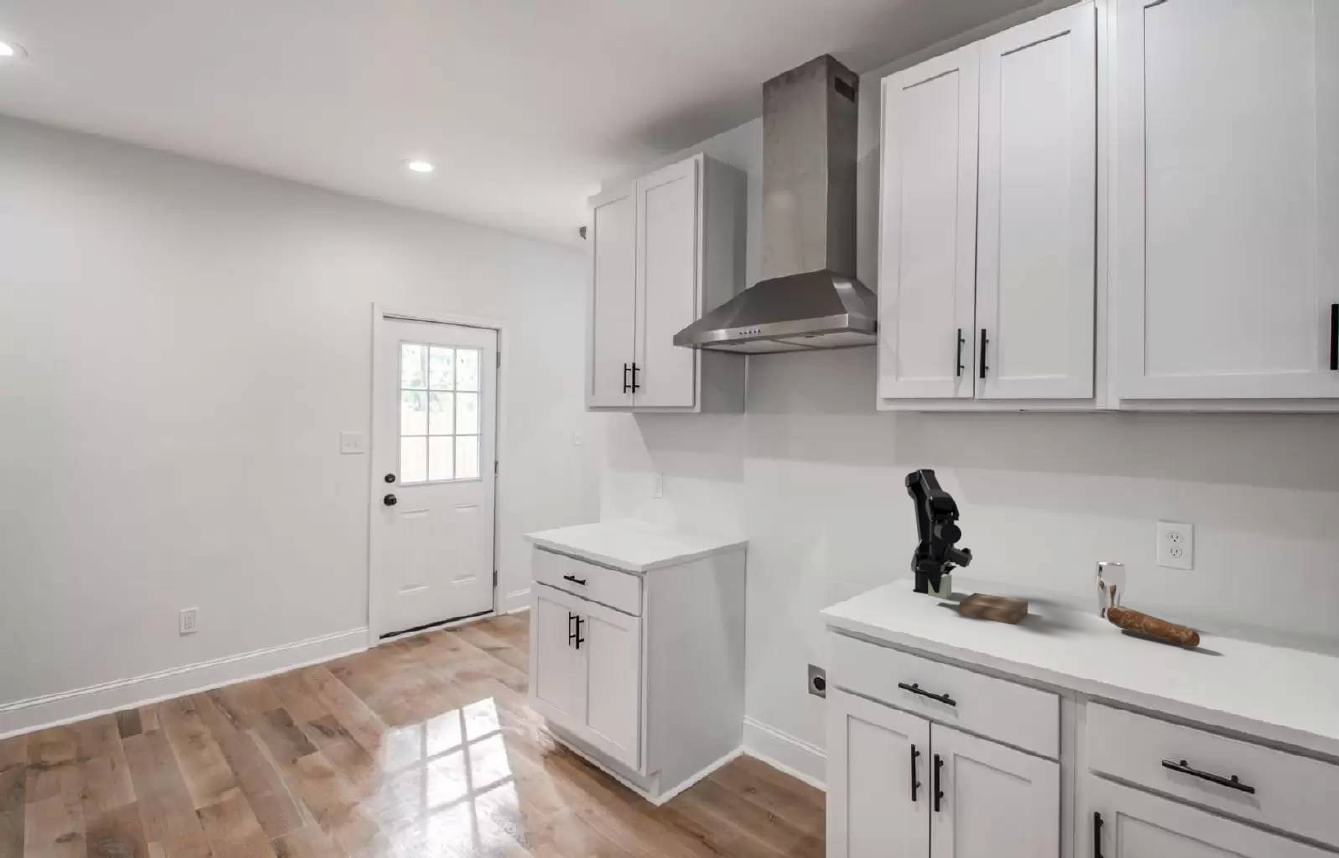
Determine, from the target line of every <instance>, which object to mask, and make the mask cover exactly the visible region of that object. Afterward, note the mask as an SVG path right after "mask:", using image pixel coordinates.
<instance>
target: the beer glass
mask: <svg viewBox="0 0 1339 858" xmlns="http://www.w3.org/2000/svg"><path fill="white" fill-rule="evenodd" d="M1125 566H1126V565H1125V564H1123V563H1119V562H1114V561H1113V562H1112V561H1096V562H1095V570H1094V572H1095V573H1094V583H1095V591H1096V594H1097V600H1098V603H1097V604H1098V608H1097V612H1096V616H1097V617H1098V618H1099V619H1104V620H1108V618H1107V610H1108V608H1110V606H1111V605H1112V604H1116V605H1120V606H1123V602H1124V601H1123V600H1124V596H1125V591H1126V585H1127V582H1126V581H1127V579H1126V578H1127V577H1126V575H1127V574H1126V569H1125ZM1108 621H1109V620H1108Z"/></svg>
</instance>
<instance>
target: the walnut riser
mask: <svg viewBox="0 0 1339 858" xmlns="http://www.w3.org/2000/svg"><path fill="white" fill-rule="evenodd" d="M1028 614H1029V601H1028V600H1025V599H1018V598H1017V599H1016V598H1011V597H1003V596H997V595H992V594H986V593H985V594H984V593H978V592H974V593H972V594H970V595H968V596H966V597H965V598H963V599H962V600H960V601H959V616H966V617H971V618H972V617H973V618H977V619H982V620H988V621H993V622H999V623H1005V624H1009V625H1017V624H1018V623H1019V622H1020V621H1021V620H1023V619H1024V618H1025V617H1026V616H1027V615H1028Z"/></svg>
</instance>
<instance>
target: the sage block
mask: <svg viewBox="0 0 1339 858" xmlns="http://www.w3.org/2000/svg"><path fill="white" fill-rule="evenodd" d="M927 595H928V597H933V598H940V599H947V598H950V597H952V574H949V575H948V574H943V575H942V578H941V584H940V590H939V593H935V592H934V590H933V588H932V586H931V583H930V581H929V579H928V594H927Z"/></svg>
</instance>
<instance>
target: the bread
mask: <svg viewBox="0 0 1339 858" xmlns="http://www.w3.org/2000/svg"><path fill="white" fill-rule="evenodd" d="M1107 618H1108V622H1109V623H1110V624H1112V625H1114V626H1116V627H1118V628H1120V629H1123V630H1127V631H1131V632H1134V633H1138V634H1142V635H1146V636H1149V637H1153V638H1157V639H1160V640H1165V641H1168V642H1173V643H1177V644H1181V645H1185V646H1189V647H1197V646H1199V645H1200V641H1201V637H1200V635H1199V633H1198V632H1197V631H1194V630H1192V629H1189V628H1186V627H1183V626H1181V625H1178V624H1175V623H1173V622H1169V621H1167V620H1163V619H1161V618H1158V617H1154V616H1152V615H1149V614H1146V613H1143V612H1141V611H1138V610H1134V609H1131V608H1128V607H1126V606H1123V605H1122V606H1120V605H1116V604H1112V605H1111V606H1110V608H1108V610H1107Z"/></svg>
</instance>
